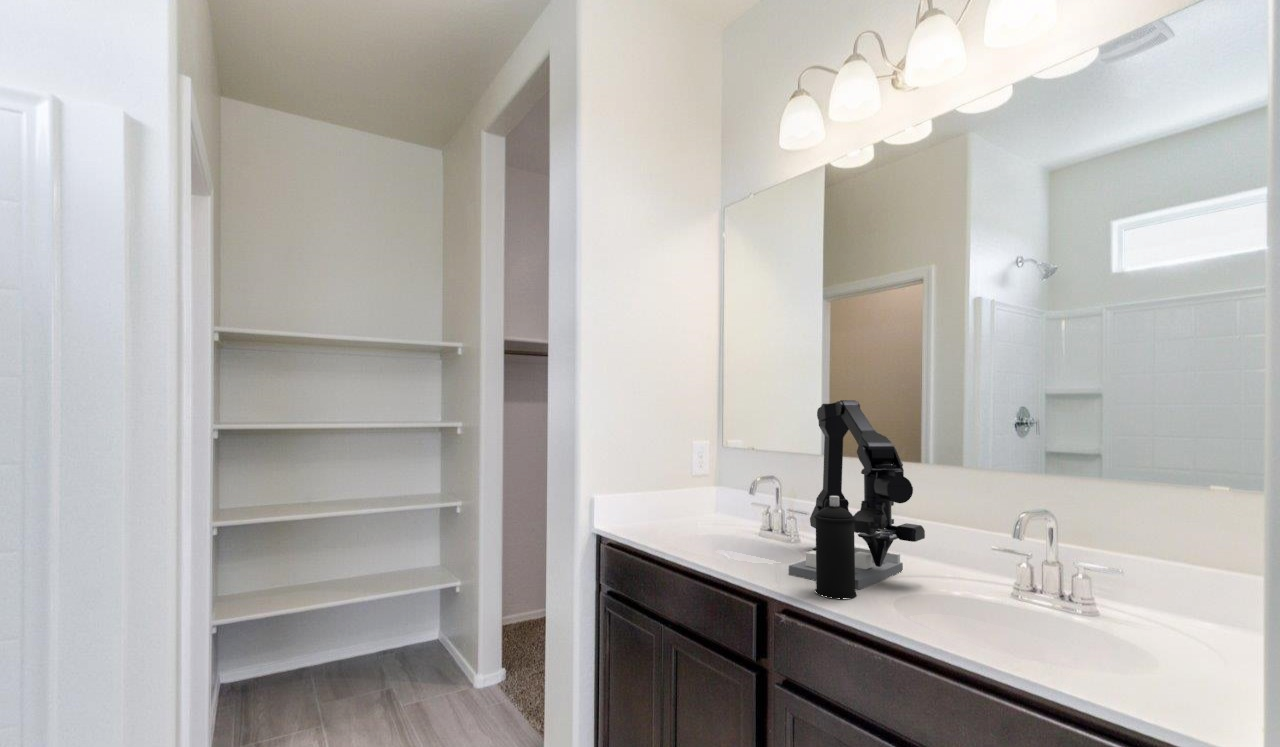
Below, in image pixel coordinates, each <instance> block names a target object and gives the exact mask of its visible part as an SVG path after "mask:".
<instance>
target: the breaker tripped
mask: <svg viewBox="0 0 1280 747" xmlns="http://www.w3.org/2000/svg"><path fill="white" fill-rule="evenodd" d="M855 567H856V568H861V569H869V568H871V567H872V554H871V553H865V552H857V553H855Z"/></svg>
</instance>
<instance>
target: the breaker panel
mask: <svg viewBox="0 0 1280 747" xmlns="http://www.w3.org/2000/svg"><path fill="white" fill-rule="evenodd" d="M854 546H855V545H854ZM857 552H865V553H871V551H870V549H869V547H868V548H866V547H860V546H855V553H857ZM903 564H904V563H903V562H901V553H896V552H891V551H887V554H886V556H885V558H884V561H883V563H882V565H881V567H877V566H876V565H875V562H874V560H873V557H872V567H871V568H869V569H861V568H856V567H855V590H857V591H859V590H860V591H861V589H864V588H867V587H869V586H871V585H874V584H876V583H878V582H879V583H880V582H881V581H883V580H886V579H888V578H890V576H891V577H893V576H895V575H897V574H896V573H898V574H900V573H902V572H901V571H902V570H903V569H904V568H903V567H904V565H903ZM903 571H904V570H903ZM899 572H900V573H899ZM789 574H790V575H789ZM894 574H895V575H894ZM788 575H789V576H793V575H795V576H794V577H798V576H799V578H802V577H804V578H803V579H807V578H809V579H808V580H812V579H814V580H813V581H816V568H814V567H809V566H806V560H803V561H800V562H796V563H793V564H790V565H788ZM892 575H893V576H892Z"/></svg>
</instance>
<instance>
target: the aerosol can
mask: <svg viewBox="0 0 1280 747" xmlns="http://www.w3.org/2000/svg"><path fill="white" fill-rule="evenodd" d="M814 517H815V518H816V528H815V547H816V580H815V583H816V584H815V587H816V588H815V589H814V592H815V591H816V592H817V593H818V594H820V595H823V596H827V597H832V598H840V599H839V600H844V599H843V598H851V599H854V598H856V597H857V591H856V589H855V532H854V520H855V517H854V515H853V514H852V513H851V511H850V510H849V511H848V510H846V509H844V508H841V507H840V506H839V496H830V506H828V507H826V508H823V509H821V510H820V511H819V512H818V513H817V514H816V515H815V516H814ZM816 592H815V593H816ZM818 594H817V595H818ZM820 595H819V596H820Z"/></svg>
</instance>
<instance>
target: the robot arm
mask: <svg viewBox="0 0 1280 747" xmlns="http://www.w3.org/2000/svg"><path fill="white" fill-rule="evenodd" d="M816 412H817V413H816V418H817V420H818V427H819V429H820V430H821V432H822V434H823V436H824V441H823V442H824V443H823V444H824V445H823V446H824V448H823V474H822V478H823V479H822V489H821V491H820V492H819V494H818V495H817V497H816V500H815V506H814V508H813V510H812V512H811V515H810V517H809V522H810V526H811V527H812V528H814V529H816V518H815V517H814V516H815V515H816V514H817V513H818V512H819V511H820V510H821V509H823V508H826V507H828V506H830V496H839V506H840V507H841V508H844V509H846V510H848V511H849V512H850V510H849V504H850V503H849V501H848V499H846V497H845V496H844V494H843V491H842V489H843V488H842V487H843V460H844V459H843V458H844V457H843V455H844V437H845V436H846V435H847V433H848V432H850V434H851V435H852V436H853V438H854V440H855V441H856V443H857V450H856V454H857V458H858V460H859V462H860V464H861V465H862V467H863V468H862V469H861V472H860V473H861V475H863V484H864V485H863V488H864V489H863V490H864V491H863V495H864V496H863V497H864V500H861V503H860V509H859V510H857V512H856V513H855V514H854V515H853V516H854V517H855V520H854V534H855V533H856V534H857V536H858V537H859V538H861V539H862V540H864V542H865V543H866V545H867V547H868V549H870V551H871V554H872V557H873V560H874V562H875V565H876V566H877V567H881V565H882V563H883V561H884V558H885V556H886V554H887V552H889V550H890V548H891V545H892V544H893V542H894V540H897V539H898V540H900V541H906V542H913V543H915V542H918V541H921V540H923V539H925V538H926V537H925V536H926V533H925V532H926V531H925V528H924V527H923V526H922V524H914V523H907V522H906V523H903V524H900V525H894V524H895V519H894V518H892V506H894V505H895V503H896V504H904V503H906V502H908V501H909V500H910V499H911V498H912V496H913V493H914V487H913V484H912V483H911V481H910V480H909V478H907V477H905V476H904V475H905V474H904V473H905V472H904V471H905V470H904V468H903V466H904V463H903V461H902V460H901V458H900V455H899V454H898V451H897V449H896V447H895V445H894V443H893V442H892V441H891V440H890V439H889V438H888V437H887V436H885V435H883V434H881V433H878V432H877V431H876V429H875V427H874V426H873V425H872V424H871V422H870V421H869V419H868V418H867V416H866V414H865V413H864V412H863V410H862V409H861V404H860V402H859V401H856V399H855V400H853V399H849V400H848V399H845V400H843V399H841V400H838V401H836V402H831V403H822V404H821V405H820V406H819V408H818V409H817V411H816ZM812 551H816V546H815V547H813V548H812Z"/></svg>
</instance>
